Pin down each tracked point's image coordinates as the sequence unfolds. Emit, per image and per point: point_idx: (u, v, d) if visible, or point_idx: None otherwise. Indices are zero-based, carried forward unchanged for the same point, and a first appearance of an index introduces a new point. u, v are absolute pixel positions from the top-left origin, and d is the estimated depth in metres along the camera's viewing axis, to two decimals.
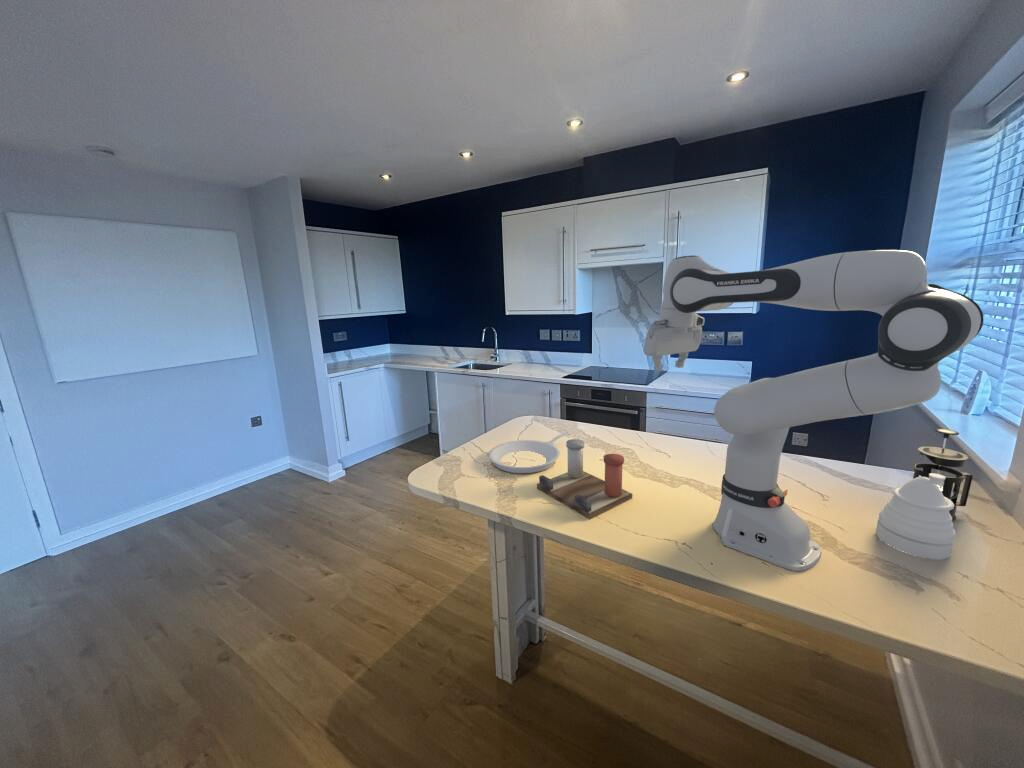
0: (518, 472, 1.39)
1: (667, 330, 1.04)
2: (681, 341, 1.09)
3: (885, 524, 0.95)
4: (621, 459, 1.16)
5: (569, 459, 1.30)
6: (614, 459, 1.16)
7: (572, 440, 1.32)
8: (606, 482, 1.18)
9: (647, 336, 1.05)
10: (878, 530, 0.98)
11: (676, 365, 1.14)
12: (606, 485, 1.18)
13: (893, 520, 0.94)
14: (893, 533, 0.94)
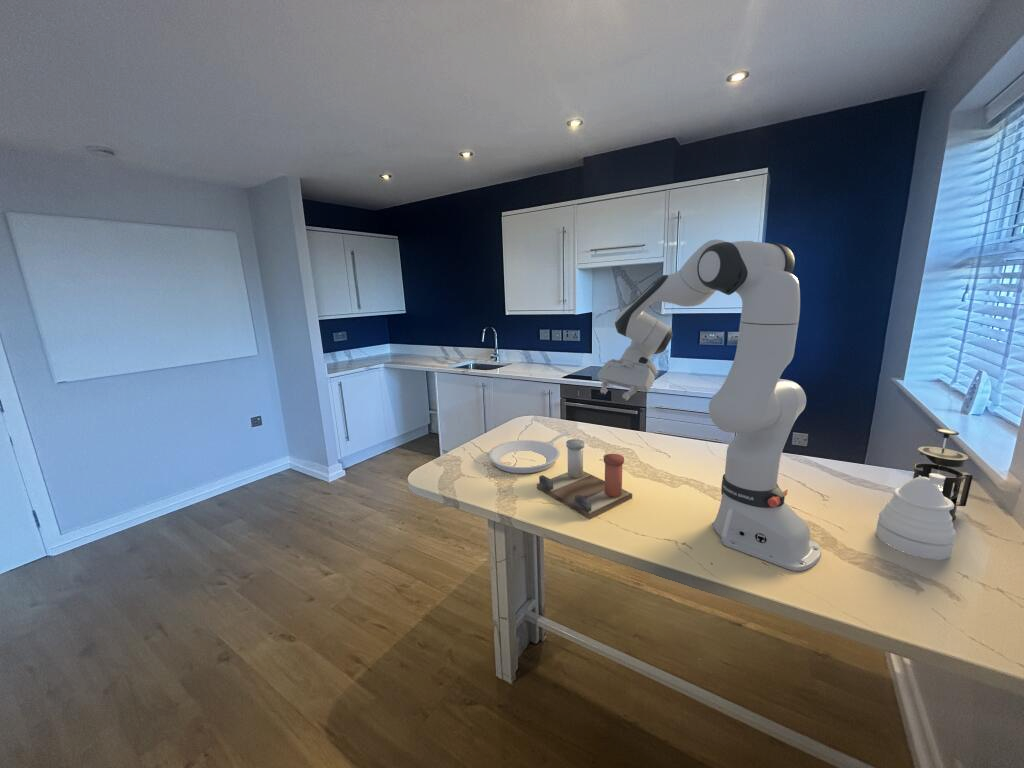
0: (518, 472, 1.39)
1: (614, 363, 1.40)
2: (625, 373, 1.34)
3: (885, 524, 0.95)
4: (621, 459, 1.16)
5: (569, 459, 1.30)
6: (614, 459, 1.16)
7: (572, 440, 1.32)
8: (606, 482, 1.18)
9: None
10: (878, 530, 0.98)
11: None
12: (606, 485, 1.18)
13: (893, 520, 0.94)
14: (893, 533, 0.94)
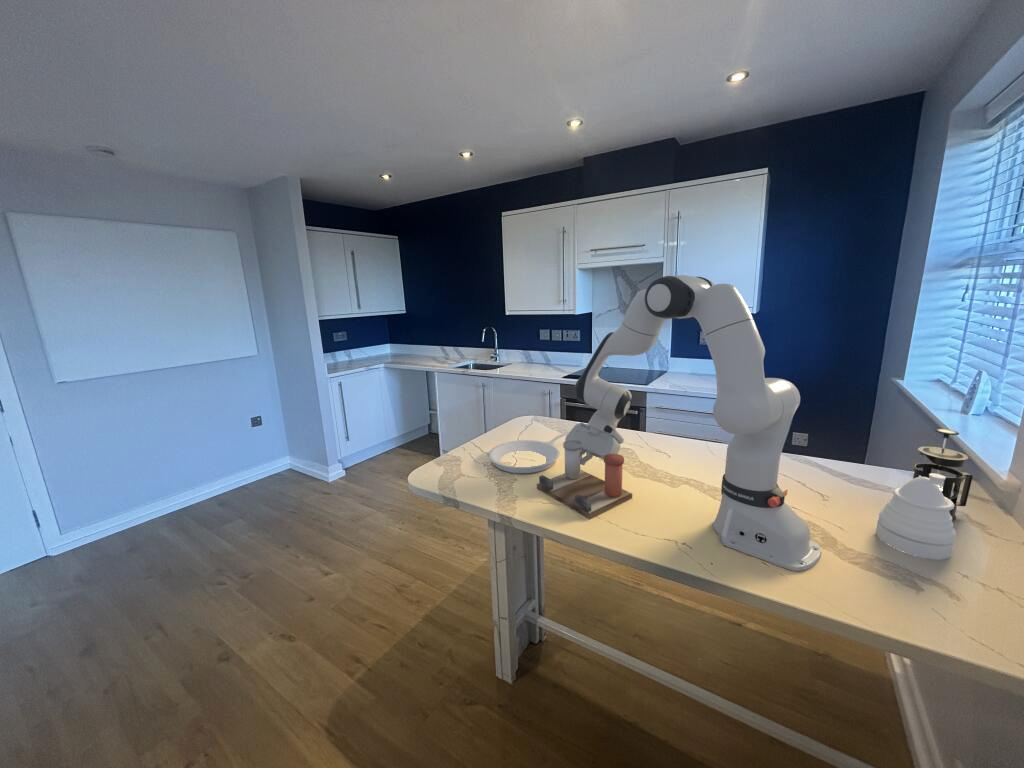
0: (518, 472, 1.39)
1: (581, 427, 1.39)
2: (591, 441, 1.33)
3: (885, 524, 0.95)
4: (621, 459, 1.16)
5: (566, 460, 1.29)
6: (614, 459, 1.16)
7: (569, 441, 1.31)
8: (606, 482, 1.18)
9: None
10: (878, 530, 0.98)
11: None
12: (606, 485, 1.18)
13: (893, 520, 0.94)
14: (893, 533, 0.94)
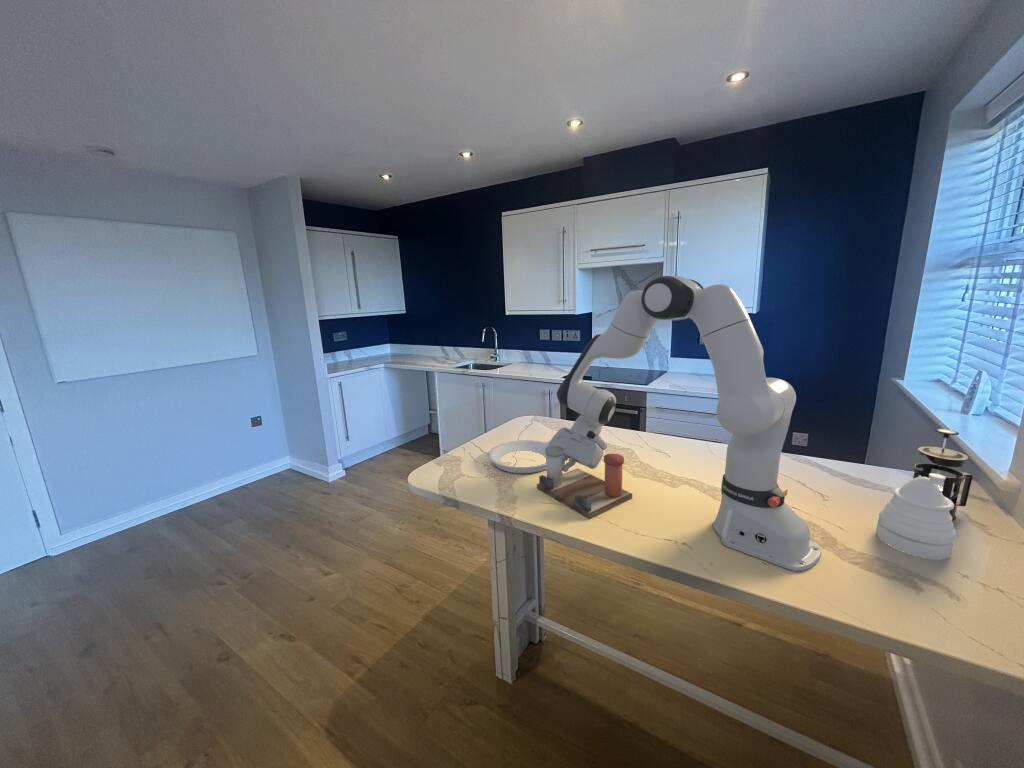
0: (518, 472, 1.39)
1: (565, 433, 1.35)
2: (574, 447, 1.29)
3: (885, 524, 0.95)
4: (621, 459, 1.16)
5: (548, 467, 1.25)
6: (614, 459, 1.16)
7: (551, 447, 1.27)
8: (606, 482, 1.18)
9: None
10: (878, 530, 0.98)
11: None
12: (606, 485, 1.18)
13: (893, 520, 0.94)
14: (893, 533, 0.94)
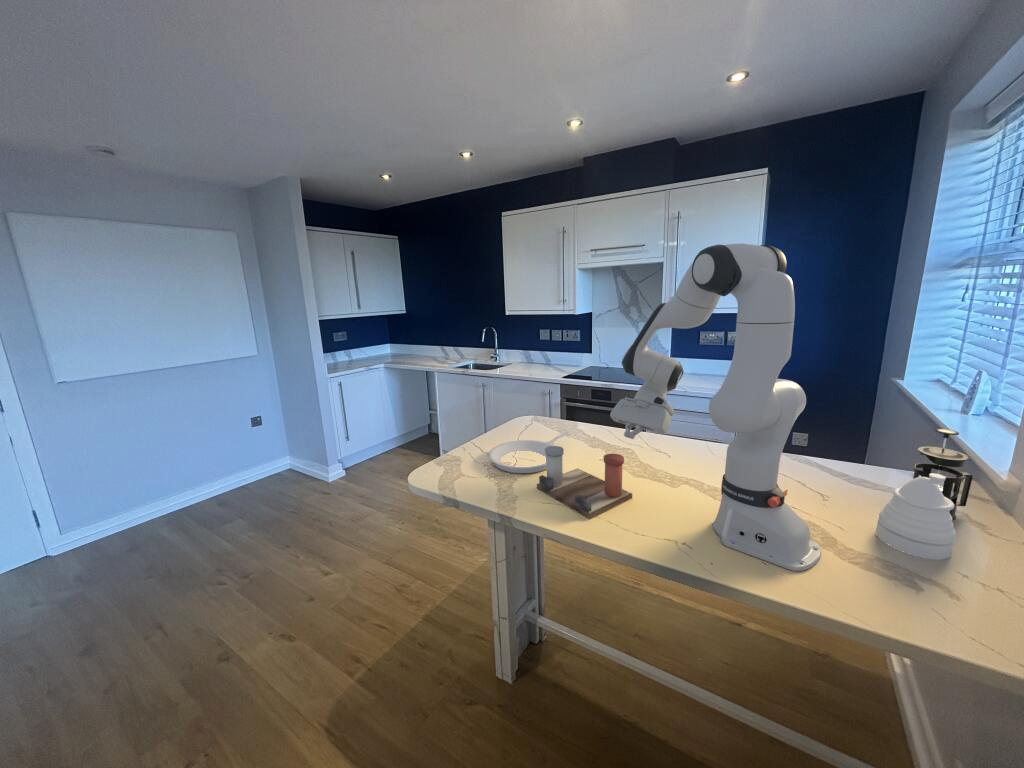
0: (518, 472, 1.39)
1: (627, 402, 1.35)
2: (640, 414, 1.29)
3: (885, 524, 0.95)
4: (621, 459, 1.16)
5: (548, 467, 1.25)
6: (614, 459, 1.16)
7: (551, 447, 1.27)
8: (606, 482, 1.18)
9: None
10: (878, 530, 0.98)
11: None
12: (606, 485, 1.18)
13: (893, 520, 0.94)
14: (893, 533, 0.94)
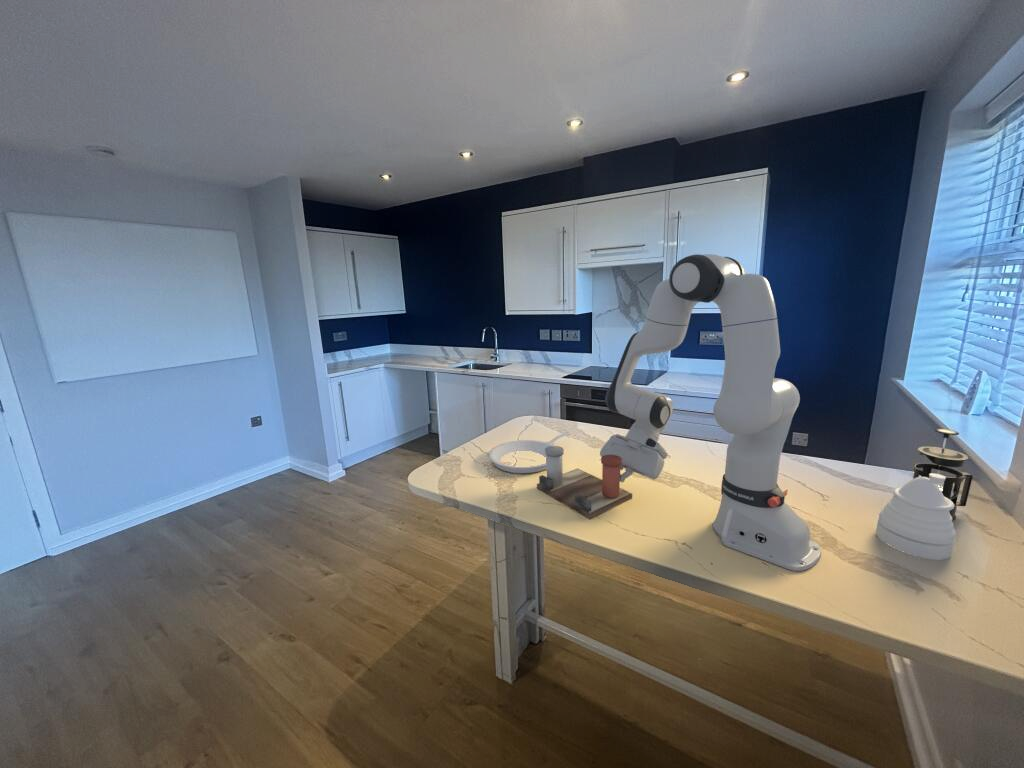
0: (518, 472, 1.39)
1: (618, 440, 1.27)
2: (631, 455, 1.20)
3: (885, 524, 0.95)
4: (619, 460, 1.15)
5: (548, 467, 1.25)
6: (611, 460, 1.16)
7: (551, 447, 1.27)
8: (604, 483, 1.18)
9: None
10: (878, 530, 0.98)
11: None
12: (604, 486, 1.18)
13: (893, 520, 0.94)
14: (893, 533, 0.94)
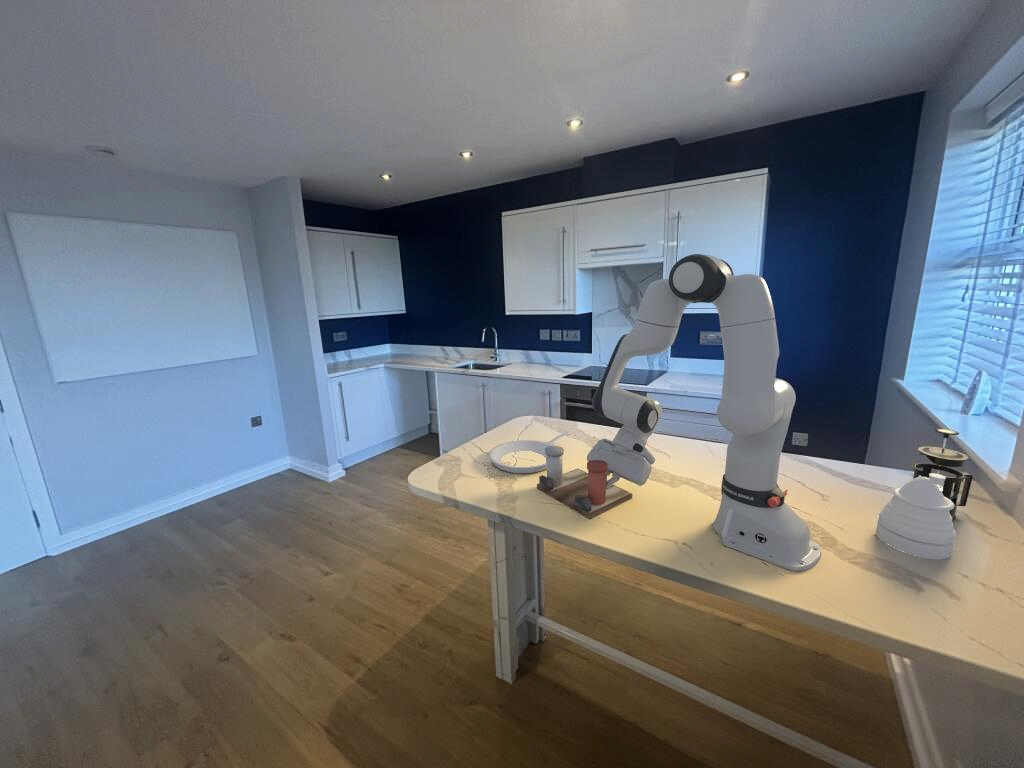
0: (518, 472, 1.39)
1: (605, 445, 1.23)
2: (618, 461, 1.17)
3: (885, 524, 0.95)
4: (604, 466, 1.12)
5: (548, 467, 1.25)
6: (597, 465, 1.12)
7: (551, 447, 1.27)
8: (589, 489, 1.14)
9: None
10: (878, 530, 0.98)
11: None
12: (590, 493, 1.14)
13: (893, 520, 0.94)
14: (893, 533, 0.94)
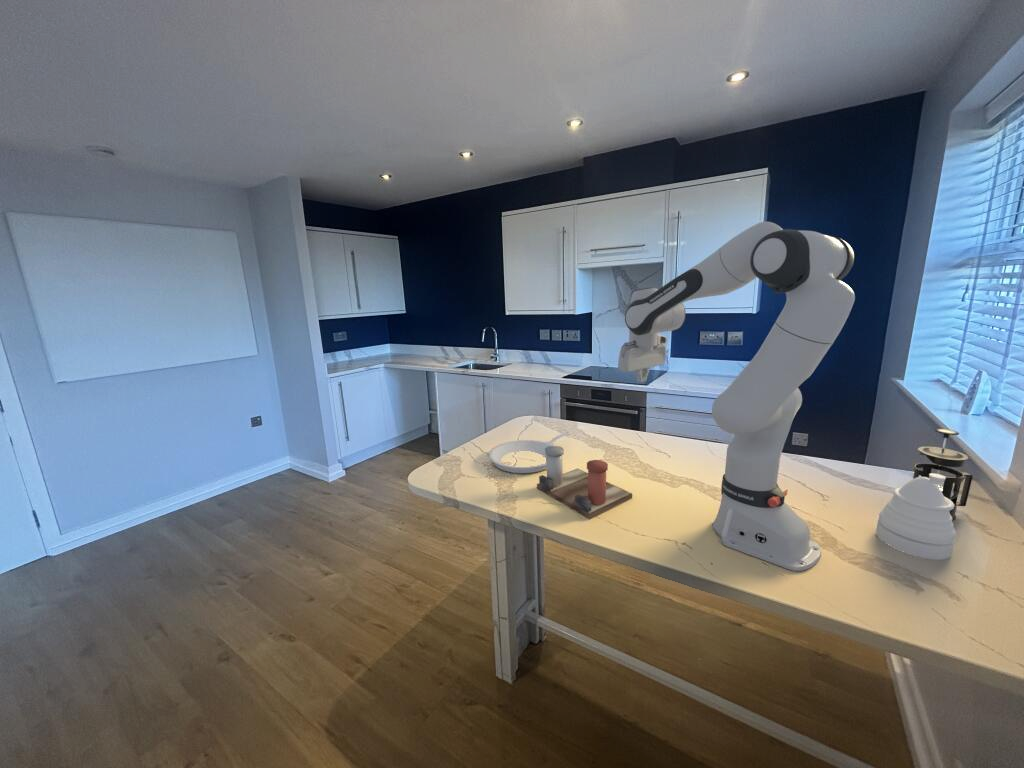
0: (518, 472, 1.39)
1: (636, 349, 1.25)
2: (649, 357, 1.30)
3: (885, 524, 0.95)
4: (604, 466, 1.12)
5: (548, 467, 1.25)
6: (597, 465, 1.12)
7: (551, 447, 1.27)
8: (589, 489, 1.14)
9: (620, 356, 1.26)
10: (878, 530, 0.98)
11: None
12: (589, 493, 1.14)
13: (893, 520, 0.94)
14: (893, 533, 0.94)
